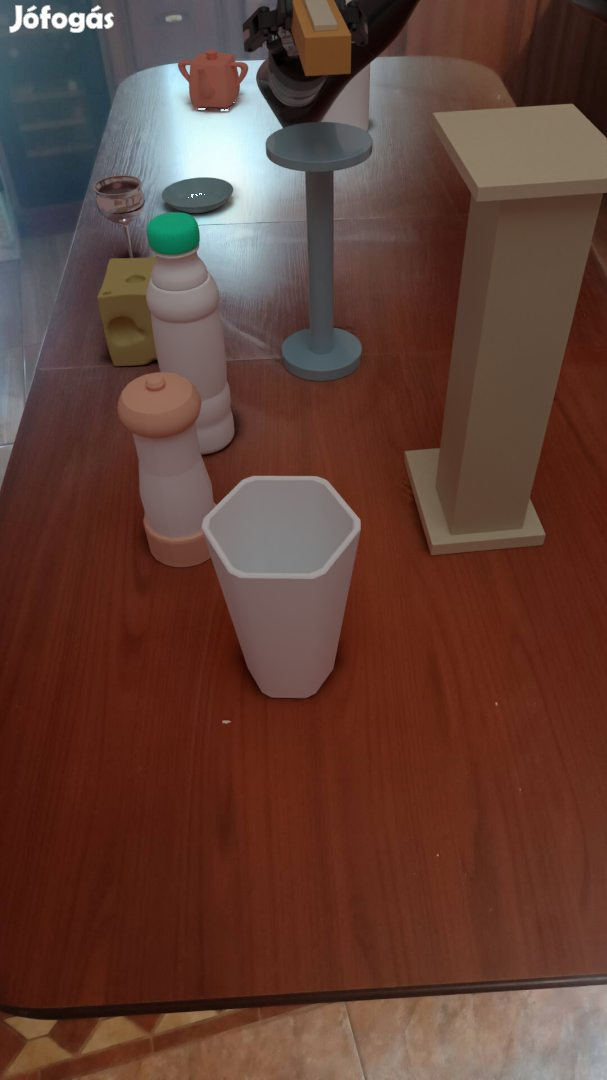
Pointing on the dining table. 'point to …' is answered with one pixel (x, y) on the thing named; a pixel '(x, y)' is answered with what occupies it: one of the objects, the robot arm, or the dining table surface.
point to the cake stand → (320, 242)
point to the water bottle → (189, 323)
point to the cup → (285, 576)
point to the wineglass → (120, 201)
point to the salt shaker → (169, 465)
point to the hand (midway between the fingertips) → (313, 1)
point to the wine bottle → (352, 102)
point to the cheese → (127, 311)
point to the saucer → (211, 187)
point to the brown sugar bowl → (213, 79)
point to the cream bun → (321, 37)
